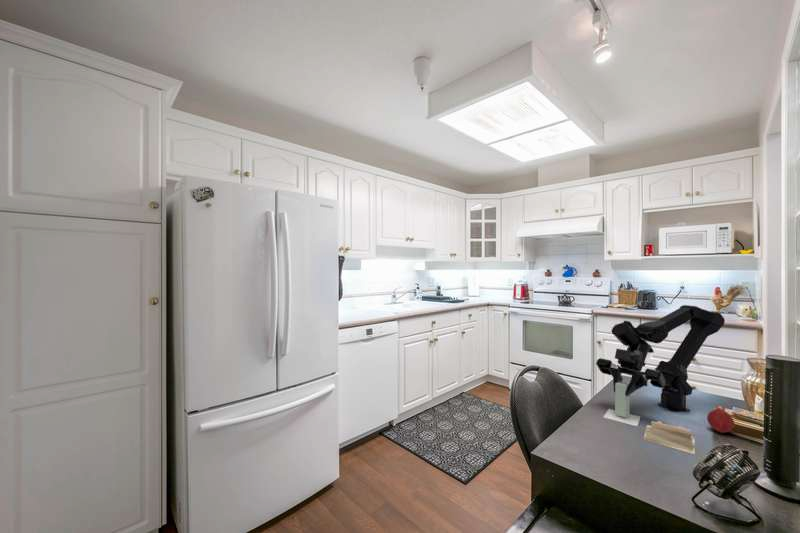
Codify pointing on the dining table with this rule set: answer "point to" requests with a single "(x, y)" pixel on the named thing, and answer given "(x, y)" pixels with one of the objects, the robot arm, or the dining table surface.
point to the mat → (622, 418)
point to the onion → (720, 420)
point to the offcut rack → (670, 436)
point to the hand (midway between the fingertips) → (620, 393)
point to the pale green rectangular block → (621, 400)
